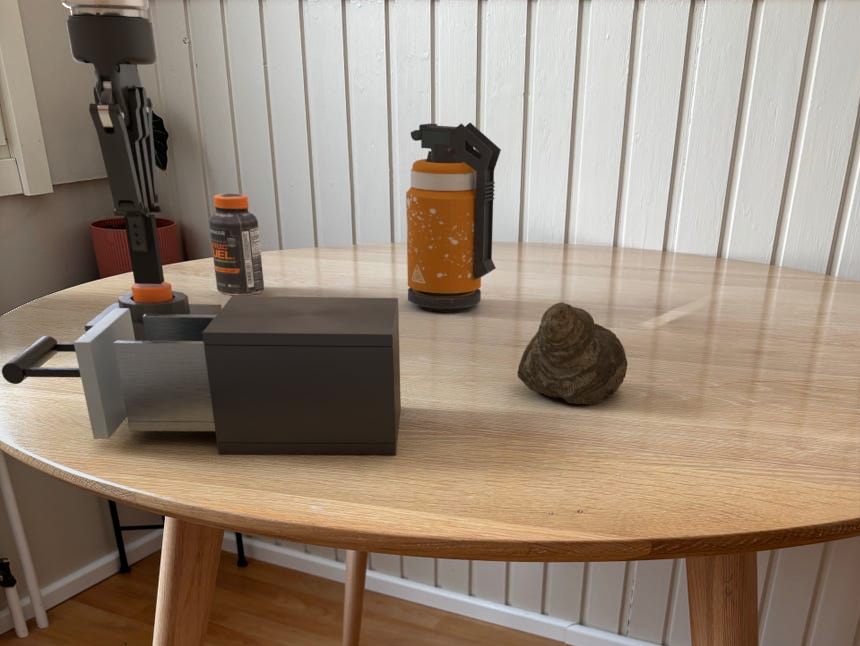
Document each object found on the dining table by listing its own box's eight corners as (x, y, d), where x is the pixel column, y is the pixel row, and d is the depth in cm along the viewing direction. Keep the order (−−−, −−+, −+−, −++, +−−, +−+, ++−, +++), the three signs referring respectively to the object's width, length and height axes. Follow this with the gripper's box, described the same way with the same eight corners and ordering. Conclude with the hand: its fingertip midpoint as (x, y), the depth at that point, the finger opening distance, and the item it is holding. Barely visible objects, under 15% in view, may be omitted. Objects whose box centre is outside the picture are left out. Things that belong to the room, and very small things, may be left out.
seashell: (472, 323, 84) (538, 347, 77) (563, 239, 86) (636, 255, 79) (524, 415, 92) (588, 445, 85) (606, 336, 94) (676, 359, 86)
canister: (429, 294, 121) (428, 117, 110) (507, 304, 117) (514, 122, 106) (394, 308, 114) (389, 121, 104) (475, 319, 110) (479, 127, 100)
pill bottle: (207, 291, 120) (194, 194, 114) (242, 284, 124) (231, 190, 118) (240, 298, 117) (228, 199, 111) (274, 290, 121) (265, 194, 115)
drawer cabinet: (218, 454, 73) (201, 332, 68) (244, 405, 83) (231, 295, 78) (396, 455, 73) (392, 334, 68) (400, 406, 83) (398, 297, 78)
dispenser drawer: (10, 438, 72) (-15, 341, 68) (57, 395, 81) (37, 307, 77) (257, 440, 73) (247, 344, 69) (277, 397, 82) (268, 309, 78)
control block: (88, 347, 97) (80, 307, 95) (116, 323, 106) (109, 286, 104) (205, 348, 98) (200, 309, 96) (223, 324, 106) (219, 287, 104)
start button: (129, 306, 98) (126, 288, 97) (139, 297, 101) (137, 280, 100) (168, 306, 98) (165, 289, 97) (177, 298, 102) (174, 281, 101)
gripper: (130, 13, 81) (171, 297, 93) (166, 16, 92) (198, 270, 104) (41, 10, 80) (94, 295, 93) (88, 14, 91) (130, 269, 104)
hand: (149, 282), depth 99 cm, fingers closed
